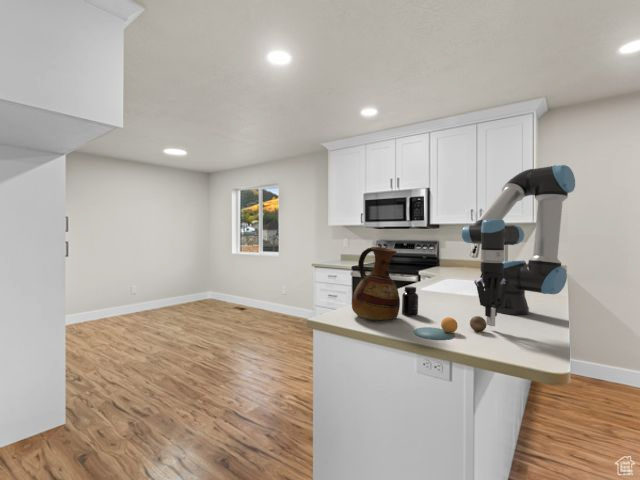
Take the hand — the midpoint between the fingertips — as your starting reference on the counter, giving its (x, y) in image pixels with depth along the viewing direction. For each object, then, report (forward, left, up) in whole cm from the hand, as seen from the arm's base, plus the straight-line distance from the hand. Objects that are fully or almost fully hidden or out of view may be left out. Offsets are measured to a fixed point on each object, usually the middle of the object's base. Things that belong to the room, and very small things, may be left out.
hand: (490, 325), depth 124 cm
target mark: (+23, 0, -2) cm, 23 cm away
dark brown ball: (+6, 0, +1) cm, 6 cm away
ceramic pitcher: (+36, -24, -2) cm, 43 cm away
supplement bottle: (+19, -27, -2) cm, 33 cm away
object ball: (+17, 0, +1) cm, 17 cm away
